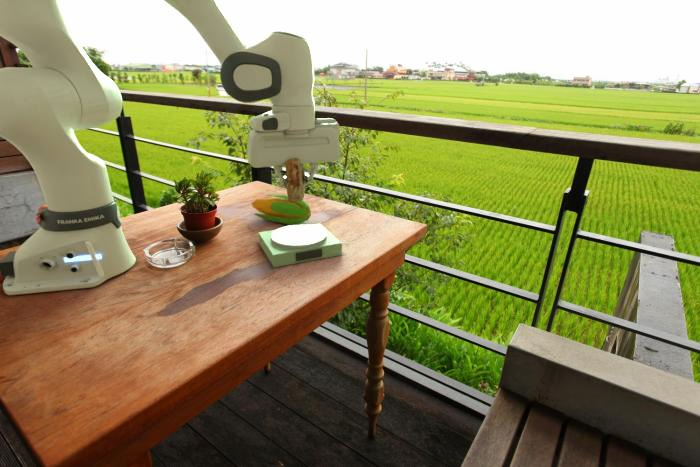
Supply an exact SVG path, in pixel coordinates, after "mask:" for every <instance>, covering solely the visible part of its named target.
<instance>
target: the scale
mask: <svg viewBox="0 0 700 467" xmlns="http://www.w3.org/2000/svg"><path fill="white" fill-rule="evenodd" d="M257 234H258V244H259V245H260V247H261V250H263V253H264V254H265V256H266V257H267V259H268V261H269V262H270V264H271V265H272V267H273V268H279V267H283V266H284V267H285V266H289V265H294V264H300V263H305V262H311V261H316V260H317V261H318V260H321V259H326V258H333V257H336V256H342V255H343V243H342V241H341V240H339V239H338V238H337V237H336V236H335V235H333V233H332V232H330V231H329V230H328V228H326V227H325V226H324V225H323V224H321V223H320V222H319V223H313V224H297V225H286V226H282V227H278V228H275V229H271V230H264V231H258V232H257Z"/></svg>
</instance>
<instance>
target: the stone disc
mask: <svg viewBox="0 0 700 467" xmlns="http://www.w3.org/2000/svg"><path fill="white" fill-rule="evenodd" d="M305 174H306V173H305V164H301V162H300V160H299V159H297V158H292V159H289V160H287V161H286V165H285V176H286V181H287V182H286V183H287V185H286V196H288V200H289V201H290V202H298V201H302V200H304V198H305V194H306V182H305Z"/></svg>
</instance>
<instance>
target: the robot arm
mask: <svg viewBox="0 0 700 467" xmlns="http://www.w3.org/2000/svg"><path fill="white" fill-rule="evenodd" d="M164 2H166V3H167V4H168V5H170V6H171V7H172V8H174V9H175V10H176V11H178V12H179V13H180V14H181V15H182V16H183V17H184V18H185V19H186V20H187V21H188V22H189V23H190V24H191V25H192V26H193V27H194V28H195V30H196V31H197V33H198V34H199V35H200V37H201V38H202V39H203V40H204V43H206V45H207V46H208V48H209V49H210V50H211V52H212V53H213V55H214V56H215V57H216V58H217V60H218V62H219V64H220V65H221V67H220V71H219V78H220V83H221V86H222V88H223V89H224V91H225V92H226V93H227V94H228V95H229V97H231V98H232V99H234V101H237V102H239V103H243V104H255V103H258V102H260V101H261V102H262V101H263V100H270V104H271V110H269V111H267V112H264V113H262V114H259V115H256V116H253V117H251V118H250V119H249V125H250V127H251V129H252V130H251V131H249V133H248V135H247V142H246V159H247V163H248V164H249V165H250V166H251V167H252V168H255V169H258V168H269V167H270V168H271V167H273V170H274V172H275V174H276V175H277V176H278V178H279V186H281V187H287V183H286V182H287V181H286V175H283V173H282V171H283V167H284V166H286V161H287V160H289V159H292V158H297V159H299V160H300V162H301V164H304V165H306V164H307V165H308V166H309V167H310V168H309V171H308V173H305V184H314V176H315V174H316V172H317V170H319V163H320V164H321V163H331V162H332V163H333V162H337V161H339V159H340V158H341V145H340V138H339V137H340V130H341V129H340V124H339V122H338V121H336V119H334V118H333V117H332V118H330V117H327V118H316V110H315V108H316V106H315V100H314V96H313V88H314V84H315V70H314V60H313V53H312V52H313V51H312V48H311V45H310V43H309V41H308V40H307V39H306V38H304V37H303V36H301V35H299V34H295V33H291V32H287V31H272V32H271V33H270V34H269V35H268V36H267V37H266V38H264V39H263V40H260V41H259V42H257V43H255V44H253V45H251V46H248V47H247V46H246V45H245V44H244V42H243V41H242V39H241V38H240V37H239V35H238V34H237V33H236V31H235V29H234V28H233V27H232V25H231V23H230V22H229V21H228V19H227V17H226V16H225V15H224V13H223V12H222V10H221V9H220V7H219V5H218V3H217V1H216V0H164ZM0 37H1V38H3V39H4V40H6V41H8V42H9V43H11V44H13V45H14V46H15V47H16V48H17V49H19V50H20V52H22V54H23V55H24V56H25V57H26V58H27V60H28V62H29V63H30V64H31V66H32V67H21V66H20V67H18V66H17V67H16V66H6V67H0V137H1V138H2V139H4V140H6V141H7V142H8V143H10V144H11V145H13V146H14V147H15V148H16V149H17V150H18V151H19V152H20V153H21V154H22V155H23V156H24V157H25V159H26V160H27V161H28V162H29V164H30V166H31V167H32V170H33V171H34V173H35V175H36V178H37V180H38V184H39V187H40V189H41V192H42V196H43V198H44V201H45V203H43V204H41V205H40V207H39V208H38V209H37V210H38V211H37V213H36V217H35V220H36V224H38V225H39V227H40V228H38V229H37V230H36V231H35V232H34V233H33V234H32V235H31V236H29V238H27V239H26V240H25V241H24V242H23V243H22V244H21V245H20V246H19V247H18V248H17V249H16V250H14V251H9V252H8V253H7V254H6V255H5V256H4V257H2V258H1V259H0V274H1V276H2V277H5V278H4V280H3V282H2V289H3V292H4V294H5V295H7V296H17V295H29V294H38V293H47V292H49V293H50V292H57V291H58V292H59V291H69V290H77V289H79V290H80V289H89V288H95V287H97V286H100V285H101V284H102V283H104V282H106V281H107V280H109V279H111V278H113V277H116V276H118V275H121V274H123V273H124V272H126V271H128V270H129V269H131V268H132V267H133V266H134V265H135V264H136V262H137V257H136V256H135V255H134V253H133V251H132V250H131V247H130V246H129V243H128V241H127V238H126V237H125V234H124V232H123V229H122V222H123V221H122V216H121V212H120V207H119V205H118V202H117V199H116V198H114V194H113V191H112V185H111V182H110V177H109V172H108V168H107V165H106V163H105V162H104V160H103V159H101V158H100V157H99V156H97V155H95V154H93V153H90V152H87V151H86V149H84V147H82V145H81V144H80V142H79V140H78V138H77V136H76V134H75V131H82V130H91V129H97V128H100V127H102V126H104V125H106V124H110V123H111V122H114V121H115V120H117V119H118V118H119V117H120V115H121V113H122V110H123V105H124V104H123V97H122V94H121V91H120V89H119V87H118V86H117V84H116V83H115V82H114V81H113V80H112V79H111V78H110V77H109V76H107V75H106V74H104V72H102V71H101V70H100V69H99V68H98V67H97V65H96V64H95V63H94V62H93V61H92V60H91V58H90V57H89V55H88V54H87V53H86V50H84V48H83V46H82V44H81V43H80V41H79V39H78V38H77V36H76V34H75V32H74V30H73V27H72V25H71V22H70V19H69V16H68V12H67V9H66V7H65V4H64V1H63V0H0Z"/></svg>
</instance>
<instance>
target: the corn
mask: <svg viewBox="0 0 700 467" xmlns="http://www.w3.org/2000/svg"><path fill="white" fill-rule="evenodd" d="M266 196H268V197H269V198H268V197H267V198H266V197H265V198H257V199H255V200H253V201H252V202H251V206H252V207H253V208H254V209H255V210H256V211H258V213H257V212H256V213H254V216H256V217H259V218H261V219H264V220H266V221H270V222H273V223H277V224H278V223H279V224H284V225H288V226H290V225H301V224H302V223H305V222H307V221H308V220H309V219H310V218H311V216H312V211H311V208H310V206H309V204H308V203H307V202H306V201H305V200H304V199H303V200H302V201H298V202H290V201H289V200H288V195H286V194H285V195H284V194H276V193H275V194H273V193H272V194H270V193H269V194H266Z"/></svg>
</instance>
